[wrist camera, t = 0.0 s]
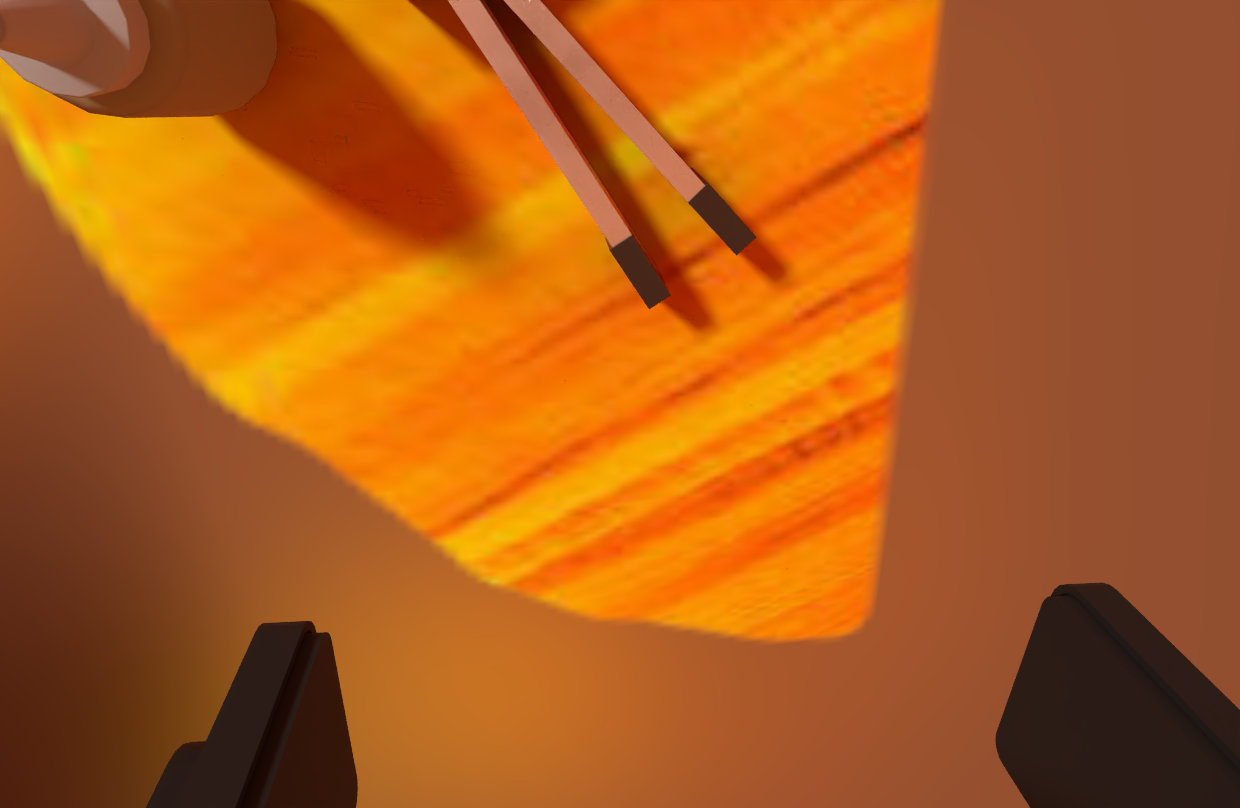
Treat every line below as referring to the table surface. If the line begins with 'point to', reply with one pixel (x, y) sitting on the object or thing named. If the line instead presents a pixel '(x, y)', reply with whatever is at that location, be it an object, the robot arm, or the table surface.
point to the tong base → (562, 148)
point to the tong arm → (633, 123)
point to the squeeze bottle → (142, 53)
